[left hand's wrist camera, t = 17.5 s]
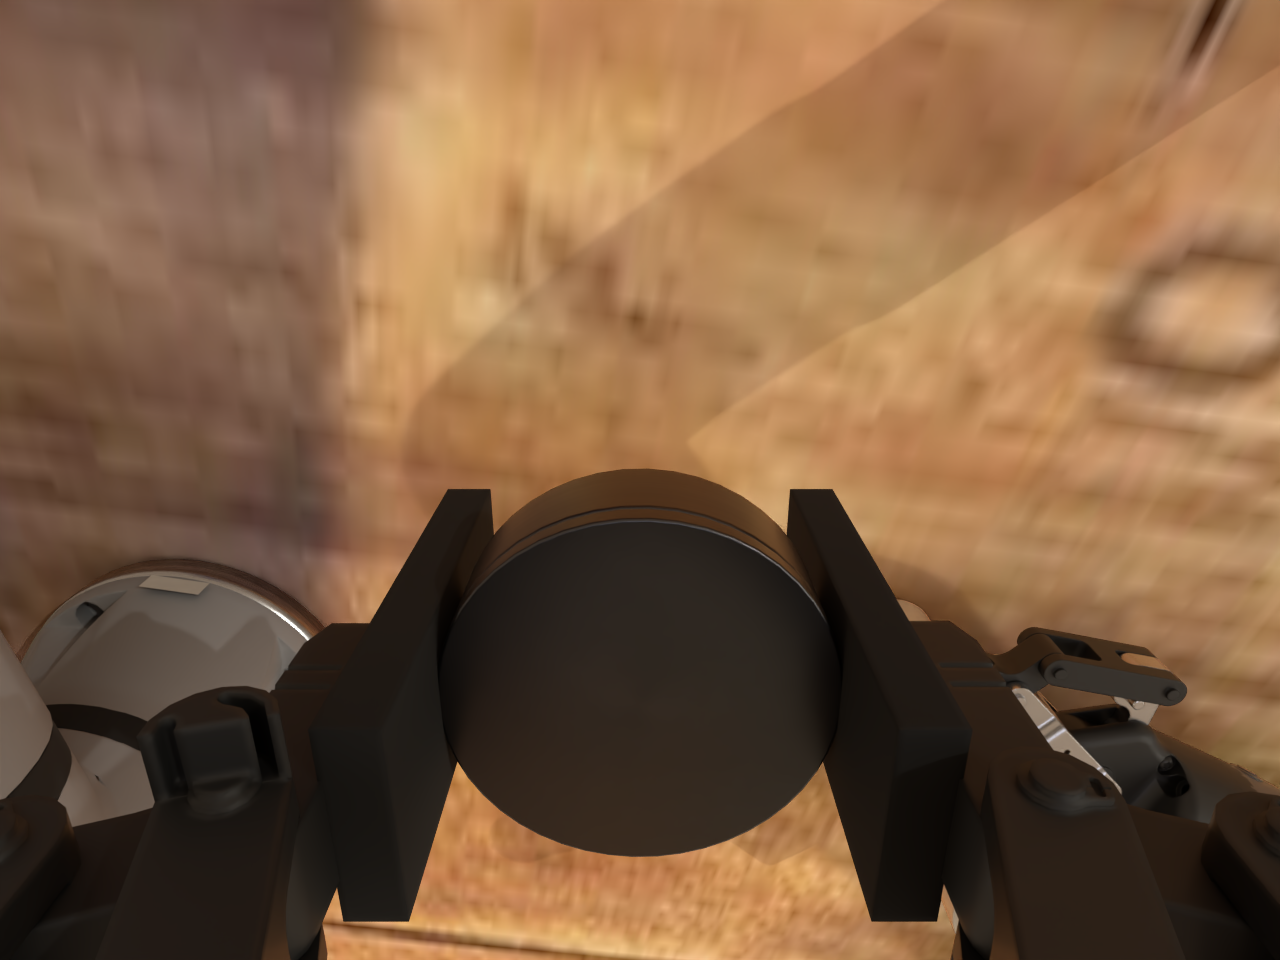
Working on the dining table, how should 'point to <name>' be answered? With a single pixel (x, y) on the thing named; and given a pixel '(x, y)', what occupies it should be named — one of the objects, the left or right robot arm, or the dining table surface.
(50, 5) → the dining table surface
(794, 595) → the lid
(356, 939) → the dining table surface
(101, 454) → the dining table surface
